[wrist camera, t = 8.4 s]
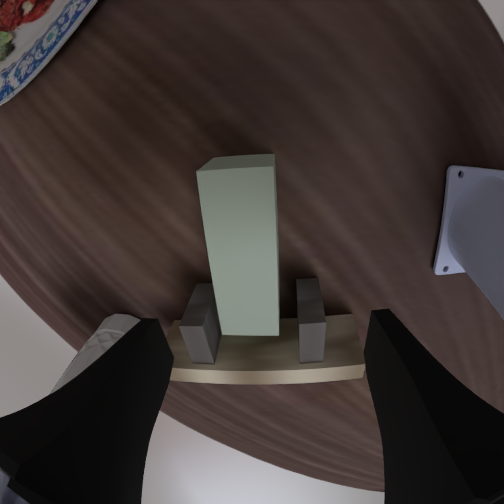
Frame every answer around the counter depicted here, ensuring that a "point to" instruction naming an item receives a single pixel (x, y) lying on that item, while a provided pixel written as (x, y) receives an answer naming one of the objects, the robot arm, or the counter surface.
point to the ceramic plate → (34, 37)
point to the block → (242, 241)
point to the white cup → (97, 345)
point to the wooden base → (266, 344)
